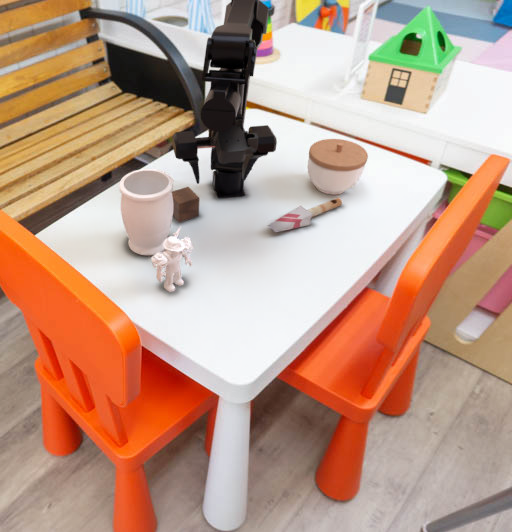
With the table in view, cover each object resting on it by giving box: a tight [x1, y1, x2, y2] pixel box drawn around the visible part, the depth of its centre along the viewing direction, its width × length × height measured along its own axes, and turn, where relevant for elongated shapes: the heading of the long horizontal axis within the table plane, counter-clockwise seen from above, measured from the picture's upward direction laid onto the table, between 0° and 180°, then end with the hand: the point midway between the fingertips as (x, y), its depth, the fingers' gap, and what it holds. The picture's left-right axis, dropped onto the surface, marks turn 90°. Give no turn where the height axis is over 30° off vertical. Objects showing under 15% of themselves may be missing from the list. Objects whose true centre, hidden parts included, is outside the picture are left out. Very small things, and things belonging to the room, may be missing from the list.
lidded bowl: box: [307, 138, 369, 196], centre depth 121 cm, size 13×13×11 cm
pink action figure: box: [150, 225, 194, 293], centre depth 97 cm, size 9×4×12 cm, turn 130°
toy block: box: [171, 186, 200, 223], centre depth 117 cm, size 5×5×5 cm
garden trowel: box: [266, 197, 343, 233], centre depth 114 cm, size 4×3×20 cm
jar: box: [118, 168, 174, 256], centre depth 106 cm, size 11×10×15 cm
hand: (220, 180), depth 104 cm, fingers open, 9 cm apart
